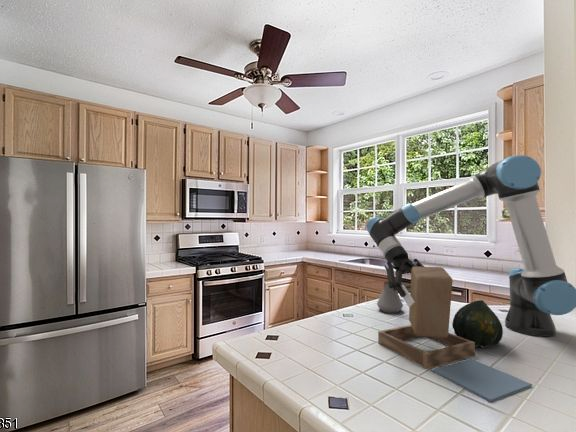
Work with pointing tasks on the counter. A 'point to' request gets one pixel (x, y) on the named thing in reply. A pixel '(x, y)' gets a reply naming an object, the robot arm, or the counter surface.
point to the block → (430, 301)
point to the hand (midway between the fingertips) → (428, 302)
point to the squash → (478, 324)
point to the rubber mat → (482, 379)
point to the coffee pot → (390, 299)
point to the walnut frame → (454, 352)
